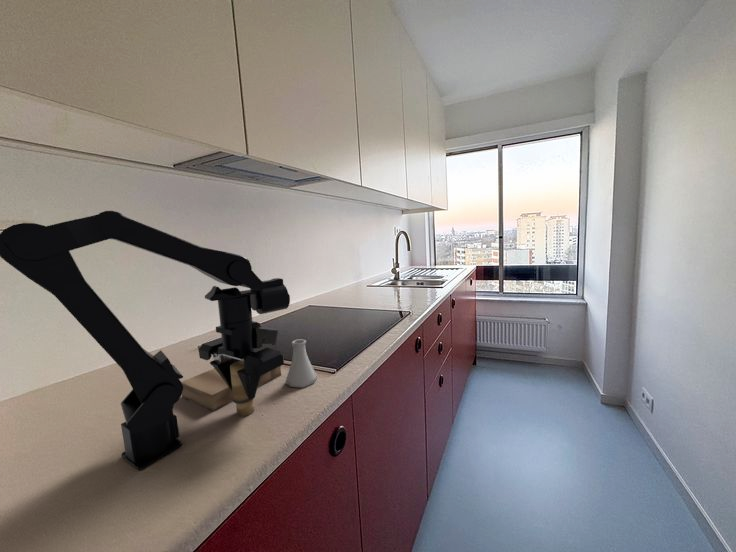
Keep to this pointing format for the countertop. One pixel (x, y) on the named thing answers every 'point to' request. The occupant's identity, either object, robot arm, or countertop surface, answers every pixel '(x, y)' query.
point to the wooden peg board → (216, 388)
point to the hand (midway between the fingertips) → (243, 395)
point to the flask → (300, 367)
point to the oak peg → (240, 391)
